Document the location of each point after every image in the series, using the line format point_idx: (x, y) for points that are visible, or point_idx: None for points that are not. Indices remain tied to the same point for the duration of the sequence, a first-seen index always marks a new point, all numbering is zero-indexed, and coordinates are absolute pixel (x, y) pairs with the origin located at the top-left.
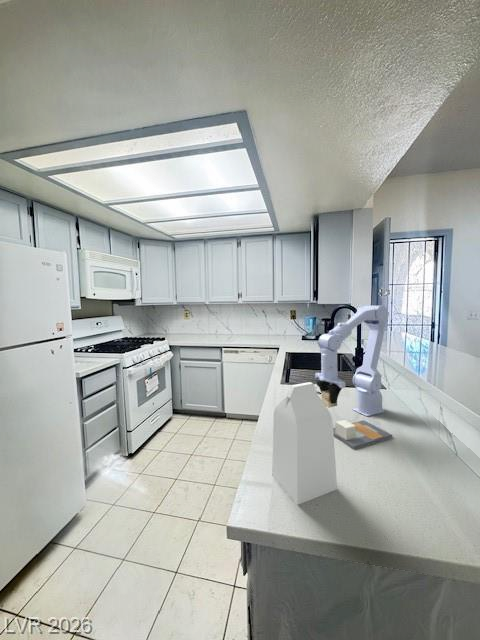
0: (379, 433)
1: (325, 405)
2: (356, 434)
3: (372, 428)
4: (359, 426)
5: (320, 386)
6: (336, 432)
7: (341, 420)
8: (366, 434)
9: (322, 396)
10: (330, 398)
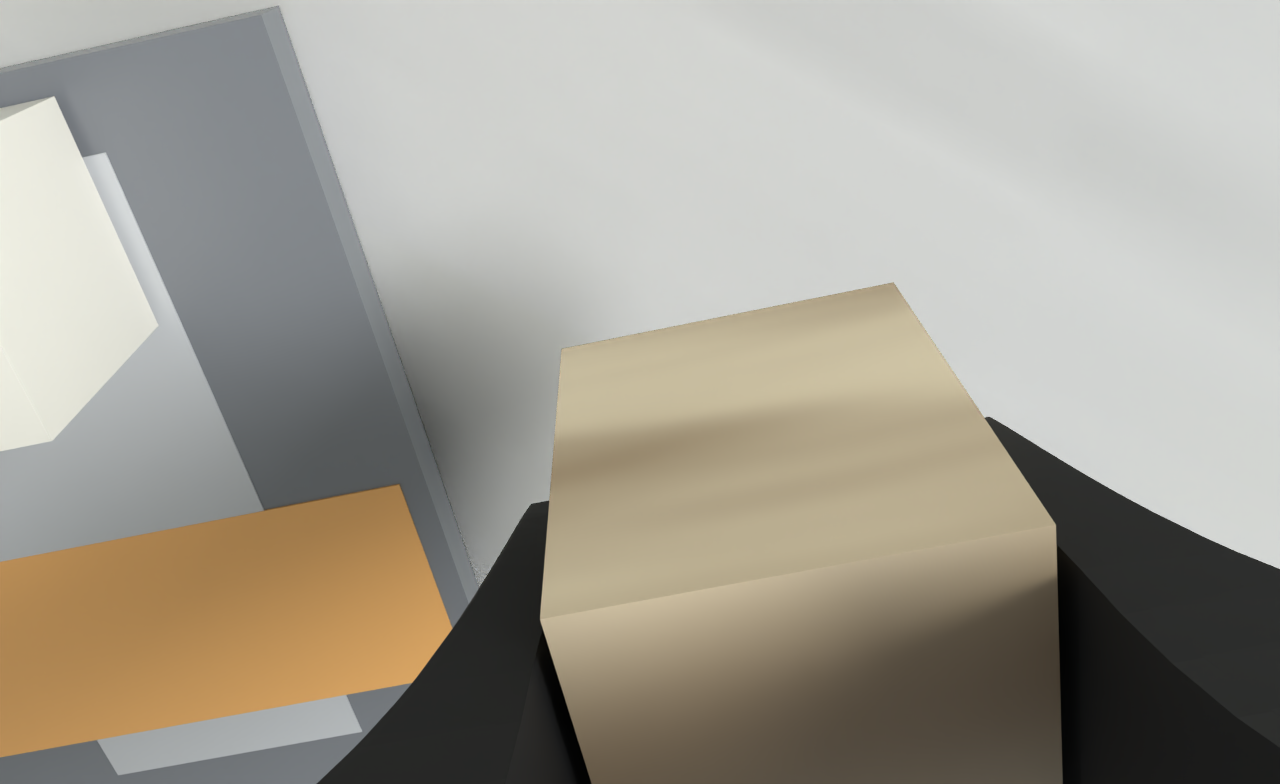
0: (72, 760)
1: (709, 328)
2: (28, 450)
3: (236, 758)
4: (322, 632)
5: (1261, 670)
6: (12, 108)
7: (3, 351)
8: (30, 590)
9: (916, 420)
10: (539, 574)
